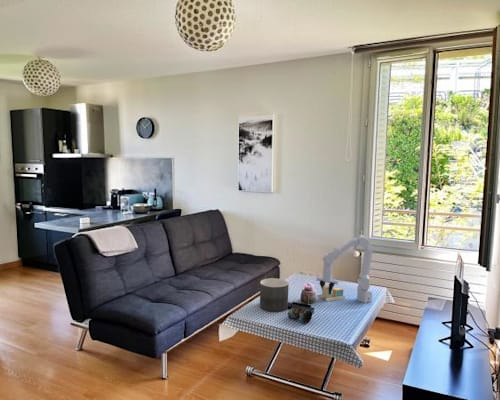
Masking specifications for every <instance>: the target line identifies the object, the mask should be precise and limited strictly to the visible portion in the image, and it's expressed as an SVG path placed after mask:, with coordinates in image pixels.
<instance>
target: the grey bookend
mask: <svg viewBox="0 0 500 400" xmlns="http://www.w3.org/2000/svg"><path fill="white" fill-rule="evenodd" d="M345 296H346V295H343V296H338V297H332V292H331V295H330V296H329V297H325V296H322V294H318V295H317V296H316V297H317V298H320V299H321V300H323V301H324V302H331V301H336V300H344V299H345V298H346V297H345Z"/></svg>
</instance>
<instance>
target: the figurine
mask: <svg viewBox="0 0 500 400" xmlns="http://www.w3.org/2000/svg"><path fill="white" fill-rule="evenodd" d="M287 316H288V319H293V320H300V321H301V323H303V324H304V325H306V324H307V323H309V322H311V319H312V318H313V311H312V309H310V308H309V309H306V308H304V307H301V308H300V307H298V308H297V307H292V308H290V310H289V311H288V312H287Z"/></svg>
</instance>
